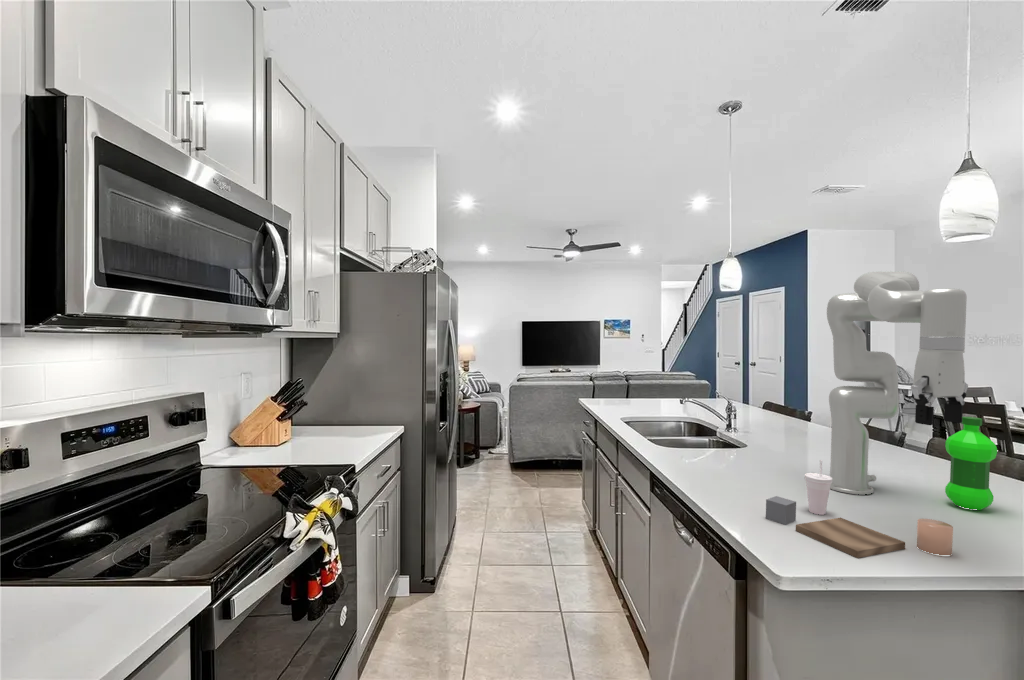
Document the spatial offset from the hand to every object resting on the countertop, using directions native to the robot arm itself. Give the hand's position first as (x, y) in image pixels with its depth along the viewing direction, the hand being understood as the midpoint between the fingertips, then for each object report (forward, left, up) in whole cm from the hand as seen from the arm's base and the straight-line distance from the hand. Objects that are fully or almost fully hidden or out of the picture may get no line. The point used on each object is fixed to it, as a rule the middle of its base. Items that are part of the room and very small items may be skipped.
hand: (938, 423), depth 109 cm
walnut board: (+13, -10, -28) cm, 33 cm away
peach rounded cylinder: (0, 0, -28) cm, 28 cm away
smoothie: (+4, -25, -28) cm, 38 cm away
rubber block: (+18, -24, -28) cm, 41 cm away
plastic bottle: (-41, -15, -28) cm, 52 cm away
